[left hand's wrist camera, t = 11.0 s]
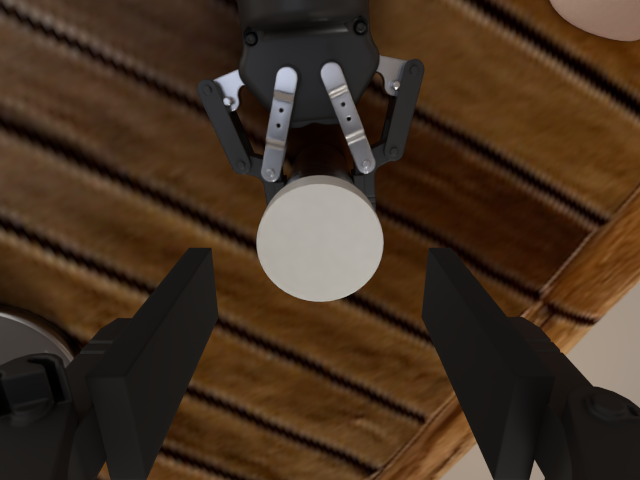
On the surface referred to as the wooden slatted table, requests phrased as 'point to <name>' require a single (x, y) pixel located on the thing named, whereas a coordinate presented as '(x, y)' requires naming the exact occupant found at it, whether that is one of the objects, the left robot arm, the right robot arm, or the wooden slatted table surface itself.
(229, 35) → the wooden slatted table surface
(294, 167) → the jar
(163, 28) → the wooden slatted table surface
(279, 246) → the lid
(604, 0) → the anatomical model
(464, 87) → the wooden slatted table surface
